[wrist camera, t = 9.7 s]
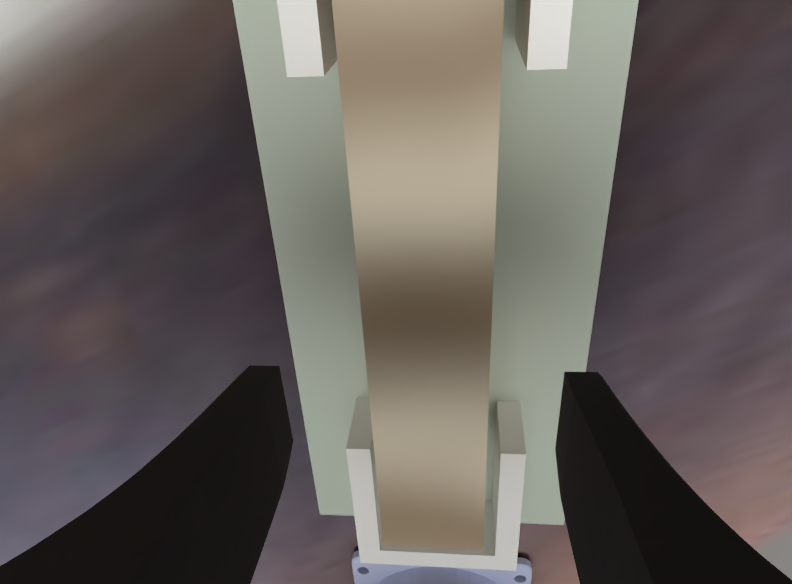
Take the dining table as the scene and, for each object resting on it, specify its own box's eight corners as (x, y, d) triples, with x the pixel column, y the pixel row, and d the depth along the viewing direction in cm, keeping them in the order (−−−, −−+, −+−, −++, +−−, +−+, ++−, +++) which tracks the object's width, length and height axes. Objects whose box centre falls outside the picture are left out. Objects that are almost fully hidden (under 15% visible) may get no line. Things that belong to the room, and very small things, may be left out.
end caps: (511, 514, 25) (518, 596, 22) (368, 508, 26) (356, 587, 23) (564, -207, 13) (595, -239, 10) (294, -187, 14) (248, -211, 11)
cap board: (561, 508, 26) (563, 525, 25) (323, 499, 27) (319, 514, 26) (664, -250, 13) (675, -259, 12) (208, -214, 14) (195, -220, 14)
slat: (479, 430, 23) (482, 550, 19) (397, 428, 23) (383, 545, 19) (493, -77, 14) (506, -70, 10) (365, -70, 15) (326, -60, 10)
